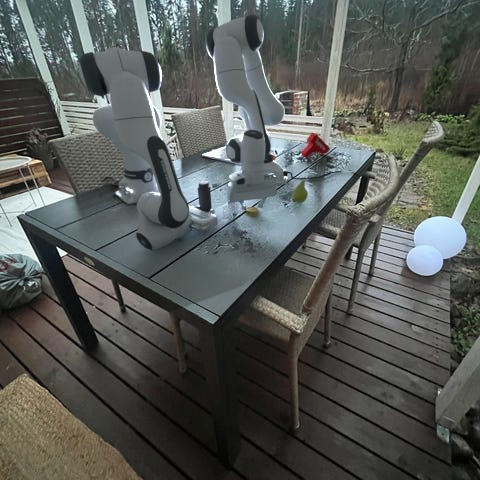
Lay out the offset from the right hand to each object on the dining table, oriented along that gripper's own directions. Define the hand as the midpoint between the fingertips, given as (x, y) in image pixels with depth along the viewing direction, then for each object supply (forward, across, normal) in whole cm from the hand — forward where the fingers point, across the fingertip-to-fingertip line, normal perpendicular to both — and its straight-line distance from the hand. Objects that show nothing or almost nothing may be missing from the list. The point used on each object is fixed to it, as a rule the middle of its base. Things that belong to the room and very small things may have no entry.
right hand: (252, 208), depth 112 cm
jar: (+2, +19, +1) cm, 20 cm away
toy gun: (+2, -68, -65) cm, 94 cm away
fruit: (+2, -24, -3) cm, 24 cm away
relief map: (+2, -18, -84) cm, 85 cm away
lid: (+1, 0, 0) cm, 1 cm away
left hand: (-3, +19, 0) cm, 19 cm away
